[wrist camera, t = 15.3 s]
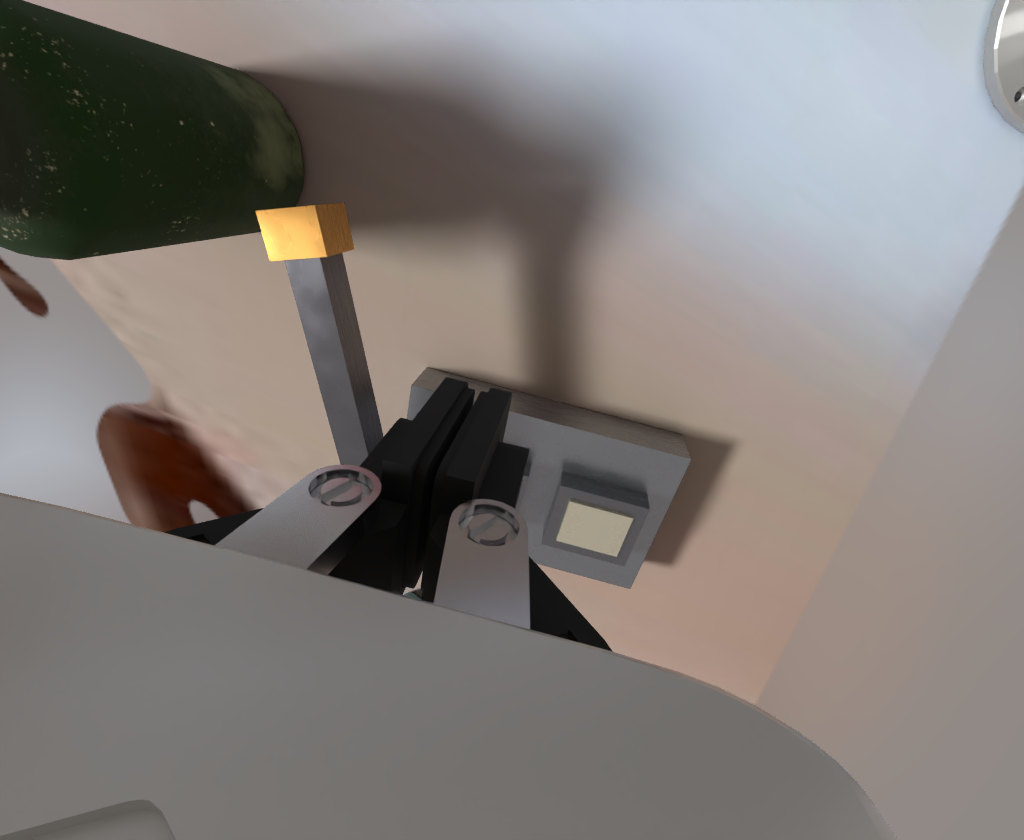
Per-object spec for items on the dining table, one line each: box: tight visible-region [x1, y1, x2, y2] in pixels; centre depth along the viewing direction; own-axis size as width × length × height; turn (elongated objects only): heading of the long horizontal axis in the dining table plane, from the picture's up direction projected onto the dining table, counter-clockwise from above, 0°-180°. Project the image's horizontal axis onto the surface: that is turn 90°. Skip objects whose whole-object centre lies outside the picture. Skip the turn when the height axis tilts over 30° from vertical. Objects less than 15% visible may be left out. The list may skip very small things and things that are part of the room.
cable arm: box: [256, 203, 383, 467], centre depth 30 cm, size 22×4×3 cm, turn 5°
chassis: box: [407, 368, 691, 589], centre depth 39 cm, size 22×14×10 cm, turn 77°
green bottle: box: [0, 0, 304, 260], centre depth 24 cm, size 10×10×25 cm
